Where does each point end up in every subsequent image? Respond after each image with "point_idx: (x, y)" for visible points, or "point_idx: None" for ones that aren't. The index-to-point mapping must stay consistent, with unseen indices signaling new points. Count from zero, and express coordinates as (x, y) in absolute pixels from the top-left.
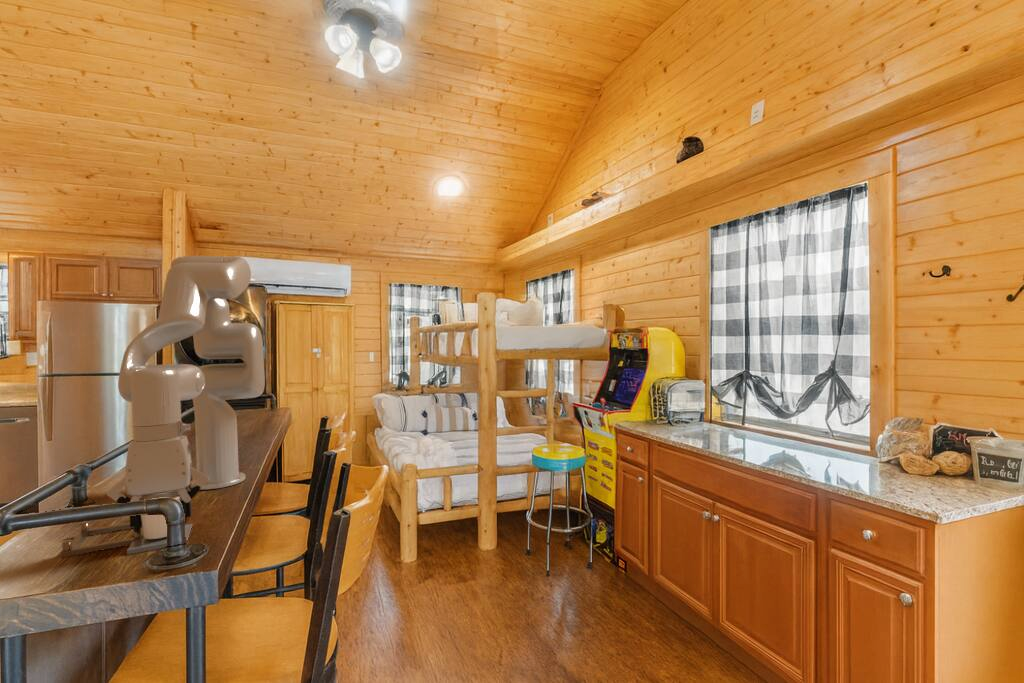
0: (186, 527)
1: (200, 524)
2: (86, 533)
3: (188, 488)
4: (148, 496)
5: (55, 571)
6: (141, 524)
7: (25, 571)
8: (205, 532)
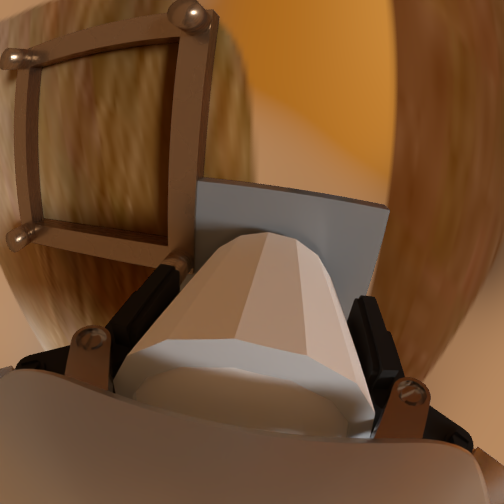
0: (360, 251)
1: (415, 184)
2: (30, 83)
3: (421, 437)
4: (147, 375)
5: (62, 316)
6: (175, 288)
7: (14, 271)
8: (406, 298)
